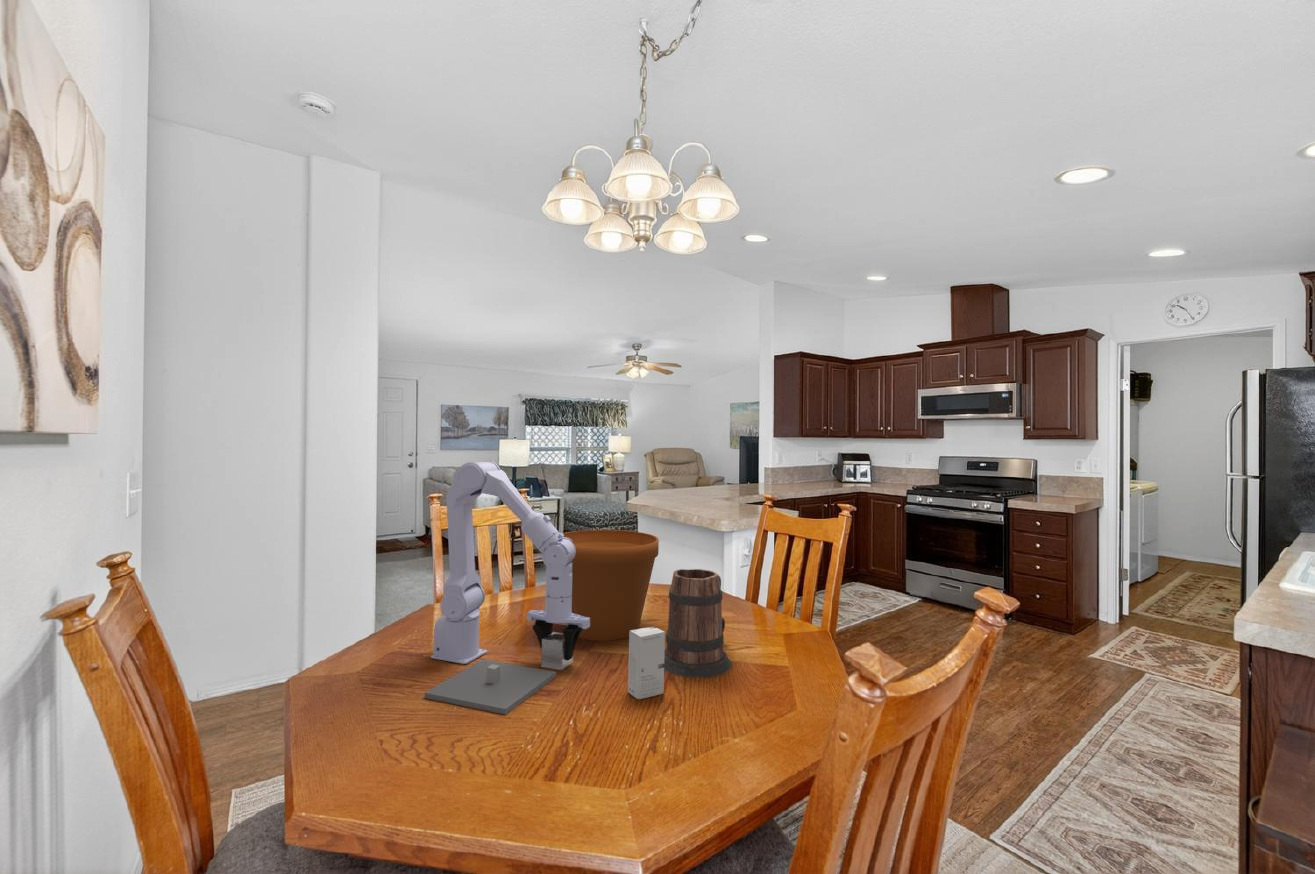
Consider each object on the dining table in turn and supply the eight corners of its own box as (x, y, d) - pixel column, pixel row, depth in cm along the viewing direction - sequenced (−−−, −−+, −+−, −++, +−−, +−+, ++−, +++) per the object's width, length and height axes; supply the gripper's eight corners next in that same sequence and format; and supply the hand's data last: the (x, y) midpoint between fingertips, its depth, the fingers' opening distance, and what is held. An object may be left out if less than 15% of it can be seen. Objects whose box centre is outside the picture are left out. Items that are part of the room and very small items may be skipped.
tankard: (713, 684, 120) (715, 586, 120) (642, 667, 128) (644, 575, 128) (753, 649, 141) (754, 565, 141) (689, 636, 149) (690, 557, 149)
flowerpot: (676, 624, 158) (678, 536, 158) (614, 656, 134) (616, 553, 134) (594, 606, 173) (596, 526, 173) (525, 632, 149) (527, 539, 149)
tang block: (424, 697, 111) (424, 676, 111) (482, 663, 128) (483, 645, 128) (505, 714, 105) (506, 692, 105) (555, 676, 122) (556, 657, 122)
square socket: (541, 666, 127) (542, 639, 127) (553, 658, 132) (553, 631, 132) (562, 670, 126) (562, 642, 126) (573, 661, 130) (573, 634, 130)
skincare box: (638, 700, 112) (639, 637, 112) (626, 692, 116) (627, 630, 116) (665, 693, 115) (666, 631, 115) (652, 685, 119) (654, 625, 119)
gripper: (596, 593, 130) (595, 655, 130) (539, 587, 135) (538, 646, 135) (582, 602, 123) (580, 666, 123) (522, 594, 128) (521, 656, 128)
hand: (557, 656), depth 129 cm, fingers closed on square socket, 5 cm apart
